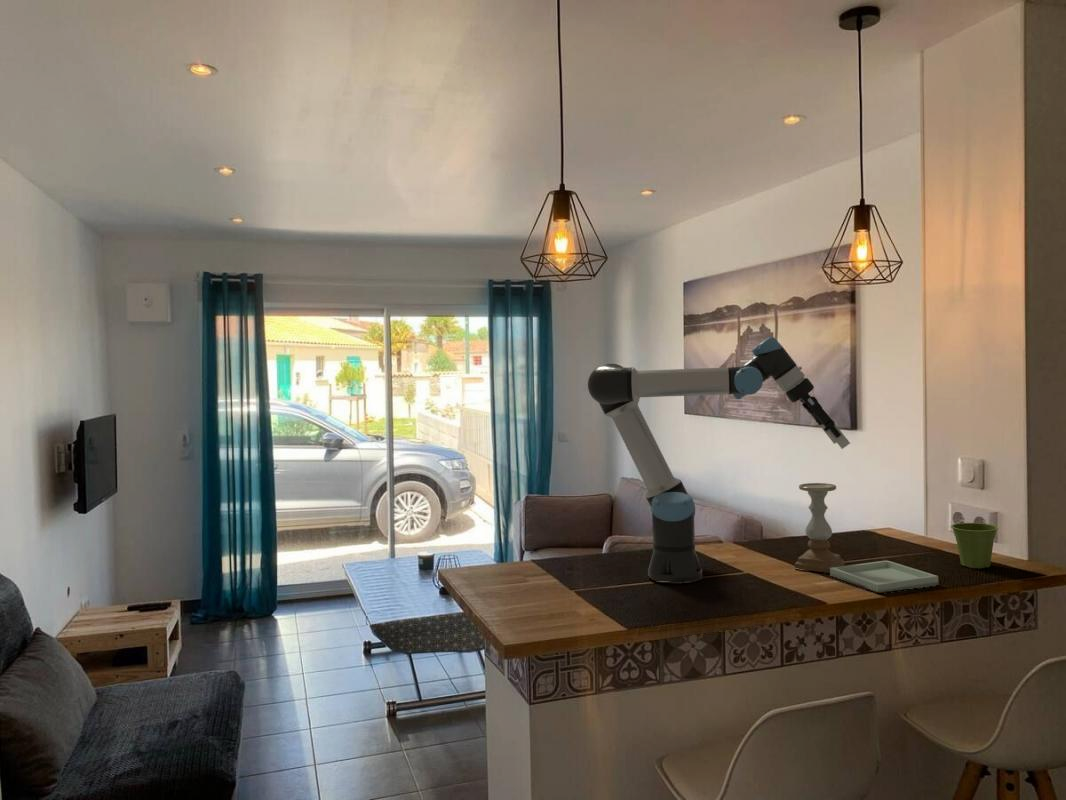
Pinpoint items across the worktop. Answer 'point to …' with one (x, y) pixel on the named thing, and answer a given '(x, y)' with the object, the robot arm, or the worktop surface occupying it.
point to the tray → (884, 576)
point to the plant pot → (975, 543)
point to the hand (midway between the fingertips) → (842, 443)
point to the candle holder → (818, 532)
